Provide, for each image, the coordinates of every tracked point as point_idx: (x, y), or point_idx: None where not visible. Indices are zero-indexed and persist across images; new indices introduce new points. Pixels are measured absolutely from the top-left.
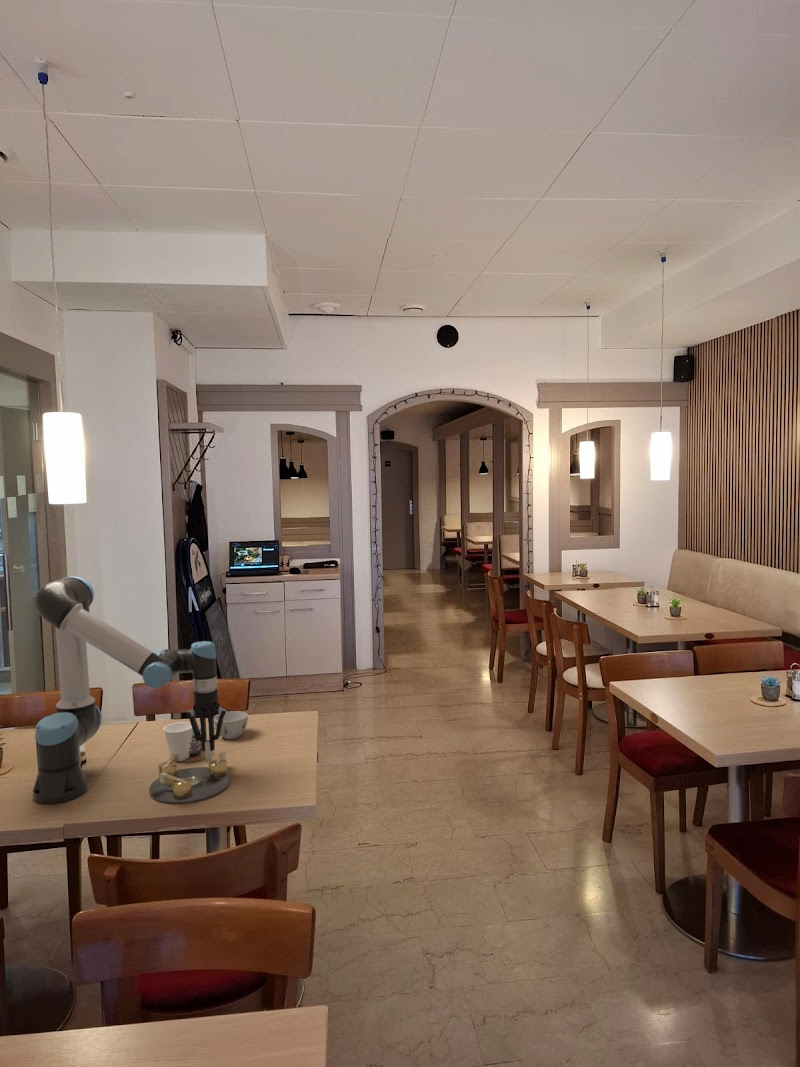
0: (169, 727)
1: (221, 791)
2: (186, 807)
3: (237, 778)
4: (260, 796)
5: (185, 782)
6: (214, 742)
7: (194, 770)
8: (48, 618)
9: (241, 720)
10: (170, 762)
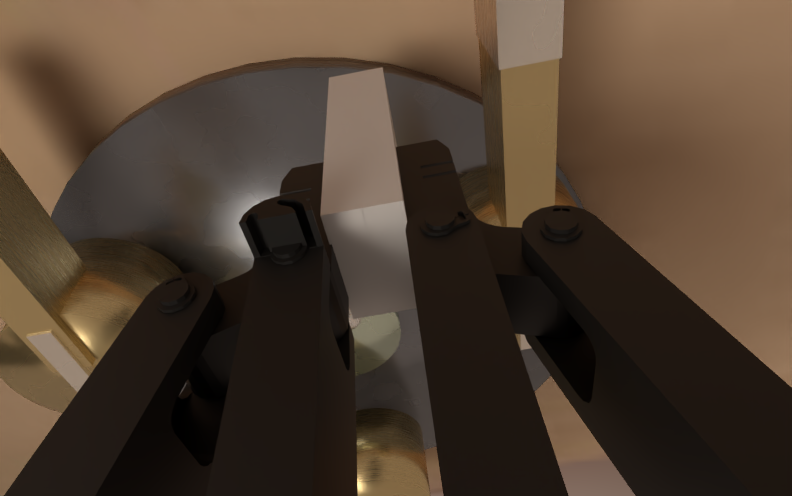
0: None
1: None
2: (425, 457)
3: (638, 182)
4: (771, 354)
5: None
6: (464, 197)
7: (246, 150)
8: None
9: None
10: (80, 356)
